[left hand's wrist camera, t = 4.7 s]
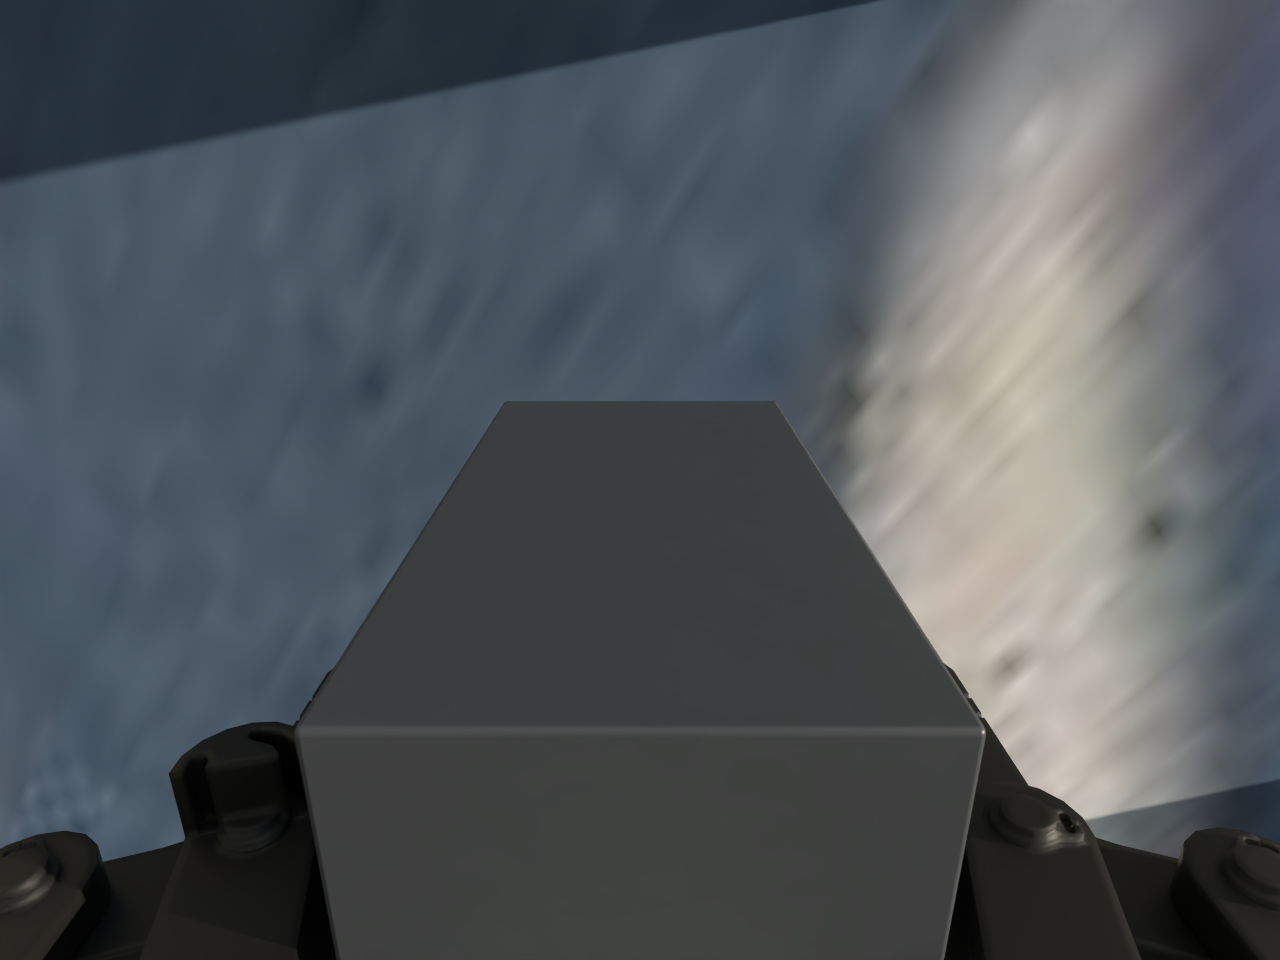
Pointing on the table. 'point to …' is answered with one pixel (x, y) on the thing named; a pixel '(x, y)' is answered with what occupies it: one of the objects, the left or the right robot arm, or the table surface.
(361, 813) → the bar
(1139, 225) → the table surface
